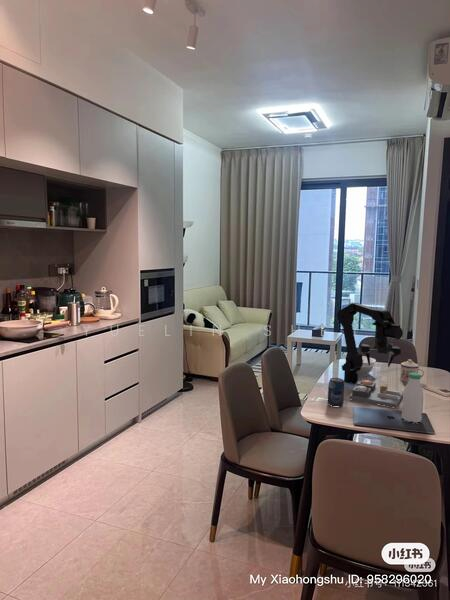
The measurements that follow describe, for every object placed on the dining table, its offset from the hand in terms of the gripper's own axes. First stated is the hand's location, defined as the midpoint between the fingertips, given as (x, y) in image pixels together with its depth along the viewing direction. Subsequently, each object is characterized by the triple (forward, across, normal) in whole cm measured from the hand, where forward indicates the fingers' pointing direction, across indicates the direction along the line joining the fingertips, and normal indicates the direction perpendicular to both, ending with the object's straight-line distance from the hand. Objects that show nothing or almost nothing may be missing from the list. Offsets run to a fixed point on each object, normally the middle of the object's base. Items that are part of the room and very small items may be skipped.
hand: (378, 366), depth 214 cm
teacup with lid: (+13, +22, +23) cm, 35 cm away
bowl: (+14, -4, +32) cm, 35 cm away
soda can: (+13, -22, -25) cm, 36 cm away
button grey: (+10, -9, -12) cm, 18 cm away
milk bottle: (+13, +8, -36) cm, 39 cm away
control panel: (+13, -2, -10) cm, 16 cm away
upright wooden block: (+11, +1, -10) cm, 15 cm away
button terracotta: (+10, -5, -2) cm, 12 cm away
